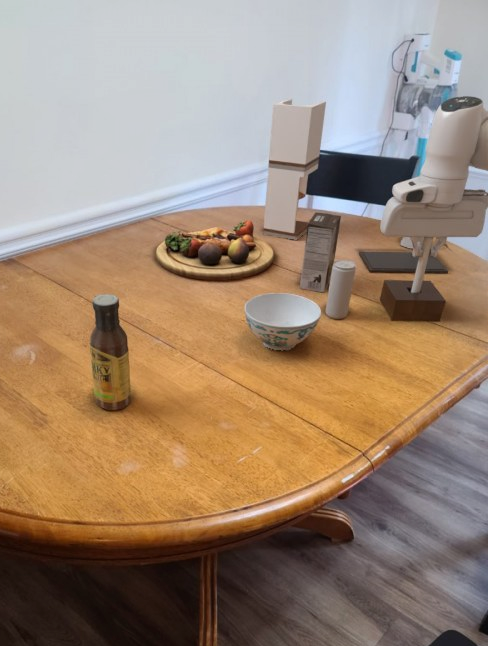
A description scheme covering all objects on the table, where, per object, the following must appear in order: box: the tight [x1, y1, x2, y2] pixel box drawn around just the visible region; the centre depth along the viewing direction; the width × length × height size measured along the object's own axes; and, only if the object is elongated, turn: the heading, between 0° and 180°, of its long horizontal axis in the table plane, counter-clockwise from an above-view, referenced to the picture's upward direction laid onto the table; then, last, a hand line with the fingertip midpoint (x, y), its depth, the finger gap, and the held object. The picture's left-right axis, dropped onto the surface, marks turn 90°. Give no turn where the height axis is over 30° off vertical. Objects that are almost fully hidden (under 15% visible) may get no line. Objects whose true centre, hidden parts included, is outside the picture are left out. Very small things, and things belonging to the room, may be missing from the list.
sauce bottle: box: [89, 293, 132, 411], centre depth 93 cm, size 6×6×20 cm
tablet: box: [358, 251, 449, 275], centre depth 150 cm, size 20×13×1 cm, turn 88°
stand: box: [379, 279, 447, 323], centre depth 127 cm, size 11×11×5 cm
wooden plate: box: [155, 219, 275, 281], centre depth 151 cm, size 32×32×8 cm
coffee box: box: [299, 211, 342, 293], centre depth 135 cm, size 9×6×16 cm
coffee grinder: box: [262, 98, 327, 241], centre depth 161 cm, size 11×11×35 cm
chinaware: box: [244, 292, 322, 352], centre depth 114 cm, size 15×15×8 cm
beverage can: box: [325, 259, 357, 320], centre depth 123 cm, size 5×5×12 cm
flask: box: [400, 237, 424, 249], centre depth 159 cm, size 7×7×10 cm
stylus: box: [411, 237, 434, 293], centre depth 122 cm, size 2×2×14 cm
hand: (423, 256), depth 121 cm, fingers closed on stylus, 2 cm apart
